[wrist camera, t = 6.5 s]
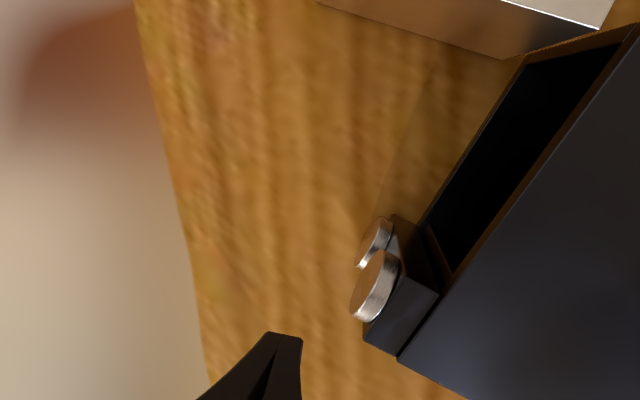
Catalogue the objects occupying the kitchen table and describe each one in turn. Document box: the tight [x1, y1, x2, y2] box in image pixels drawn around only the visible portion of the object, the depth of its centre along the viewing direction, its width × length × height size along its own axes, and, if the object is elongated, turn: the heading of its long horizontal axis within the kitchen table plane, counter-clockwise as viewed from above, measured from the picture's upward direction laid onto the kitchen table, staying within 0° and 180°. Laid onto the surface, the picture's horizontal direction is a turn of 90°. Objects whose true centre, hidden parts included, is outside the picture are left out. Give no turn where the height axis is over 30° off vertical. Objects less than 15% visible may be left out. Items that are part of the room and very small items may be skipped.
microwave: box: [349, 22, 640, 400], centre depth 15 cm, size 12×14×8 cm
